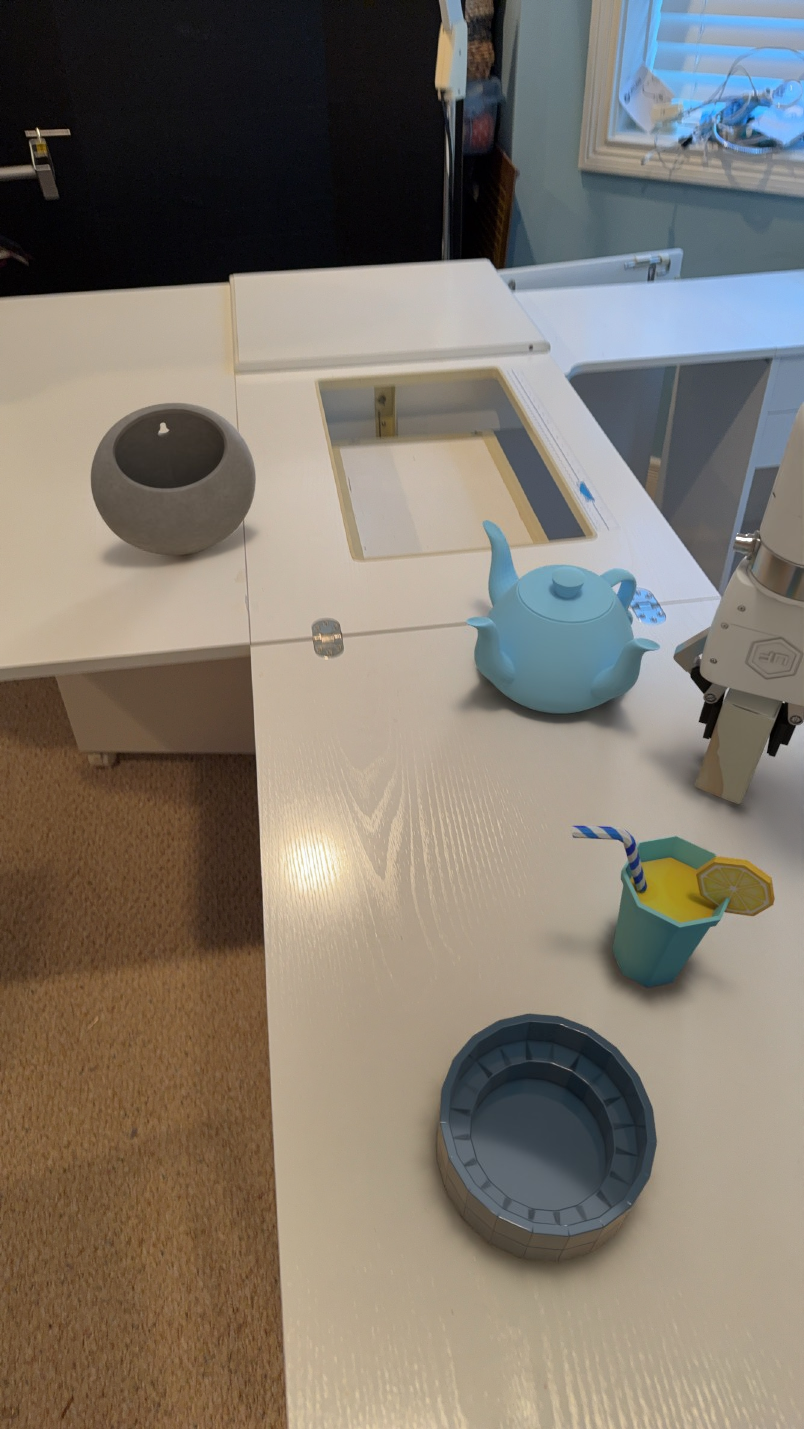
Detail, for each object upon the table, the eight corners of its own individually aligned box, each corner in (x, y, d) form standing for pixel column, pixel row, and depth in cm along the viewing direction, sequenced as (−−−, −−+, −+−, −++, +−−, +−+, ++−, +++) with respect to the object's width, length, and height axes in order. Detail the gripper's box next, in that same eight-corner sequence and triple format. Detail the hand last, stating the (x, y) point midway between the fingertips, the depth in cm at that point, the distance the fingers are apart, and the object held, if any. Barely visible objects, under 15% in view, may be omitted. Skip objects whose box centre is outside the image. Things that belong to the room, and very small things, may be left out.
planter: (115, 583, 102) (74, 433, 89) (108, 550, 107) (68, 403, 94) (270, 553, 107) (253, 406, 94) (256, 522, 112) (238, 378, 99)
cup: (542, 984, 67) (570, 869, 56) (549, 898, 72) (575, 779, 62) (730, 1017, 65) (796, 904, 55) (723, 927, 71) (781, 809, 60)
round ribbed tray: (654, 1097, 61) (674, 1059, 57) (610, 1303, 52) (629, 1278, 48) (475, 1025, 64) (481, 985, 60) (406, 1208, 56) (407, 1176, 52)
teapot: (457, 722, 87) (464, 625, 78) (476, 607, 100) (484, 513, 91) (633, 743, 85) (661, 646, 76) (629, 623, 98) (652, 528, 89)
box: (709, 753, 83) (740, 664, 76) (755, 770, 82) (791, 681, 74) (692, 789, 80) (722, 700, 72) (739, 807, 78) (775, 718, 71)
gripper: (679, 564, 64) (634, 738, 77) (932, 618, 59) (840, 795, 72) (696, 514, 69) (651, 685, 82) (931, 560, 64) (845, 735, 77)
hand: (740, 735), depth 77 cm, fingers closed on box, 4 cm apart
